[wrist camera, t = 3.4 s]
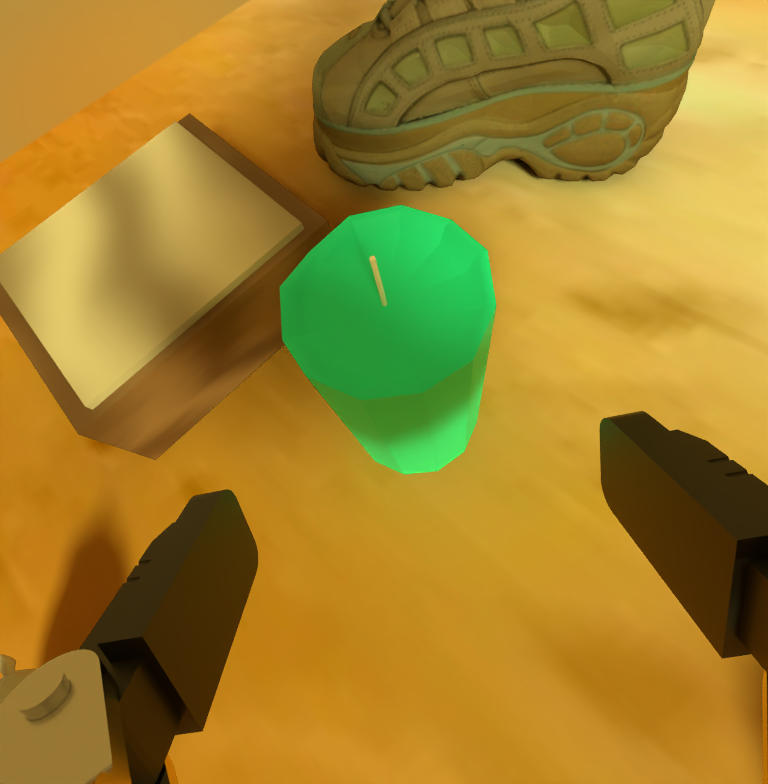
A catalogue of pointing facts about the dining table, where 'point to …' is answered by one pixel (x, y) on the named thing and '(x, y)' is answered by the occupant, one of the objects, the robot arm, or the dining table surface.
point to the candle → (395, 332)
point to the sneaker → (503, 88)
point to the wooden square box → (157, 287)
